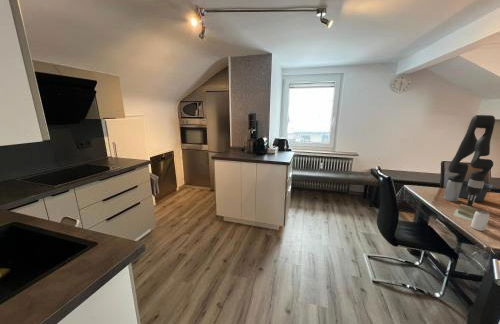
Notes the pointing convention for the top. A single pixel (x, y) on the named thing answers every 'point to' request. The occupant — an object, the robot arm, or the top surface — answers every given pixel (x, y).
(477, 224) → the can
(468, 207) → the tile
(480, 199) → the storage bin
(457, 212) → the mat
